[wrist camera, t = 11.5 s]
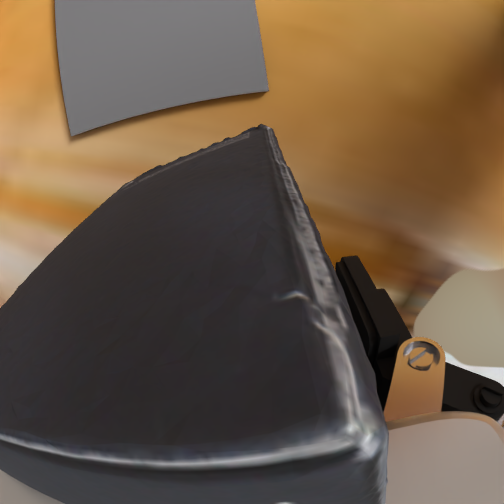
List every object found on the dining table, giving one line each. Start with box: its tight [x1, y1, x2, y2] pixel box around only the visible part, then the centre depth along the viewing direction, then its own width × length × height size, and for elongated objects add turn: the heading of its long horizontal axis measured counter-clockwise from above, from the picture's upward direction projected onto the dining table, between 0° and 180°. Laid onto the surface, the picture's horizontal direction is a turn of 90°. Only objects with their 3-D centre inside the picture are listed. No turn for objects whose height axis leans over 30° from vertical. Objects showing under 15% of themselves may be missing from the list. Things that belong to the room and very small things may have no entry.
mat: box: [55, 0, 269, 136], centre depth 15 cm, size 15×18×1 cm
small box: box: [0, 124, 389, 504], centre depth 8 cm, size 11×6×10 cm, turn 20°
